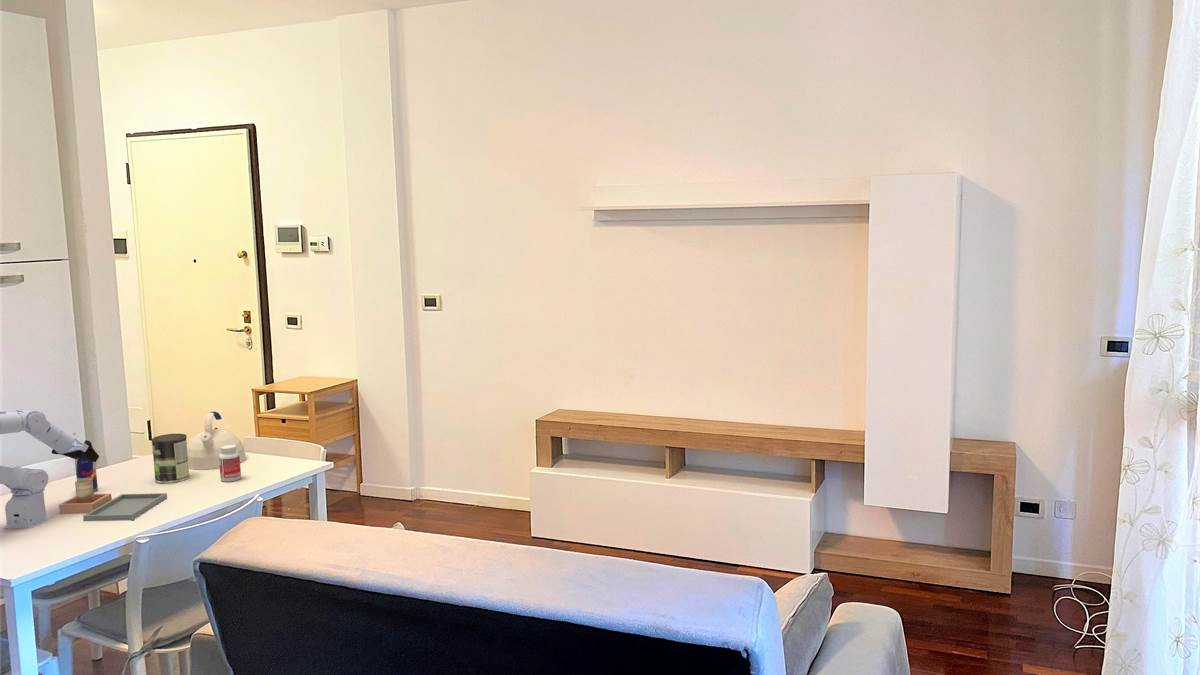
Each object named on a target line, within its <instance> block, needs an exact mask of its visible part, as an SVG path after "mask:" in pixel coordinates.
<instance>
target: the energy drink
mask: <svg viewBox="0 0 1200 675" xmlns="http://www.w3.org/2000/svg"><path fill="white" fill-rule="evenodd" d="M74 464H75V466H74V467H75V476H76V477H75V478H76V481H79V480H83V479H92V480H93V489H94V493H95V492H98V491H99V487H98V486H99V484H98V475H97V467H96V465H97V464H96V462H92V461H89V460H87V459H84V458H78V459H74Z"/></svg>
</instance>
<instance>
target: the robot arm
mask: <svg viewBox="0 0 1200 675" xmlns="http://www.w3.org/2000/svg"><path fill="white" fill-rule="evenodd" d="M22 431H23V432H24V431H25V433H26V434H28V435H30V436H32V437H33V438H34V439H36V440H37V441H39V442H41V443H43V445H44V444H45V445H46V446H48V447H50V448H51V449H52V450H51V454H53V455H61V456H65V457H68V458H70V459H74V460H75V459H78V458H84V459H87V460H89V461H92V462H95V463H97V461H98V459H99V458H100V455H99V454H98V453H97V451H96V450H95V449H94V448H93V445H92V442H91V440H84V442H82V441H81V440H80V439H79V438H77V437H76V434H77V433H76V431H73V430H72V431H71V430H70V431H68V432H67V431H65V430H64V429H63V428H61V427H59V426H57V424H55V423H53V422H51V421H50V420H48V419H47V417H46V415H45V414H44V412H43V411H40V412H39V411H38V410H28V409H16V410H15V411H9V412H6V410H0V435H6V434H14V433H20V432H22ZM48 483H49V474H48V473H47V471H46V470H44V469H41V468H27V467H21V466H14V467H9V466H4V465H0V484H1V485H4V486H5V487H6V488H7V489H10V494H12V495H11V497H10V499H8V501H6V503H5V505H4V509H5V510H4V511H5V519H6V526H4V527H3V528H4V529H32V528H35V527H37V526H38V525H40V524H42V523H45V522H46V521H48V520H50V519H51V518H53V517H54V515H53V514H51V515H47V511H46V504H45V495H44V494H45V493H44V491H45V488H46V486H47V485H48Z"/></svg>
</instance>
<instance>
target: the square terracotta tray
mask: <svg viewBox="0 0 1200 675" xmlns="http://www.w3.org/2000/svg"><path fill="white" fill-rule="evenodd" d="M112 497H113V496H112V493H94V499H95V501H94V502H92V503H77V497H76V495H75V496H73V497H71V498H69V499H67V500H65V501H63V502H61V503H59V505H58V509H59V514H88V513H89V512H91V511H93V510H95V509H96V508H98V507H100V506H102V505H103V504H105V503H107V502H109V501H111V500H112V499H113V498H112Z"/></svg>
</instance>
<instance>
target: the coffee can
mask: <svg viewBox="0 0 1200 675" xmlns="http://www.w3.org/2000/svg"><path fill="white" fill-rule="evenodd" d="M187 440H188V438H187V434H185V433H168V434H167V433H166V434H162V435H158V436H154V437H151V445H152V454H153V455H152V456H153V466H154V468H153V469H154V482H155V483H157V484H174V483H179V481H180V482H183V481H185V480H188V479H189V478H190V469H189V466H188V454H187V445H188V443H187Z"/></svg>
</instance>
